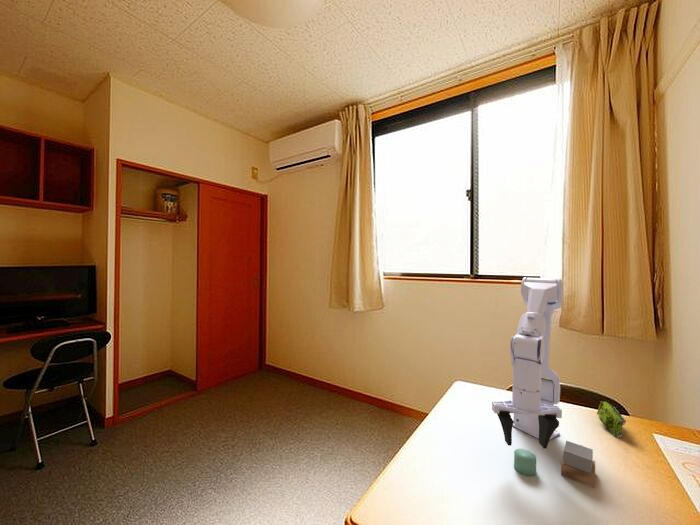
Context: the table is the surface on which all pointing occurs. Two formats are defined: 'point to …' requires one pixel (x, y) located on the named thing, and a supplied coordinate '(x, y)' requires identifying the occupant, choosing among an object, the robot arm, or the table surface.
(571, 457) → the gray block
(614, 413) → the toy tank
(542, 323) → the robot arm
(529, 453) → the green cylinder
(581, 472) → the walnut block
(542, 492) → the table surface
